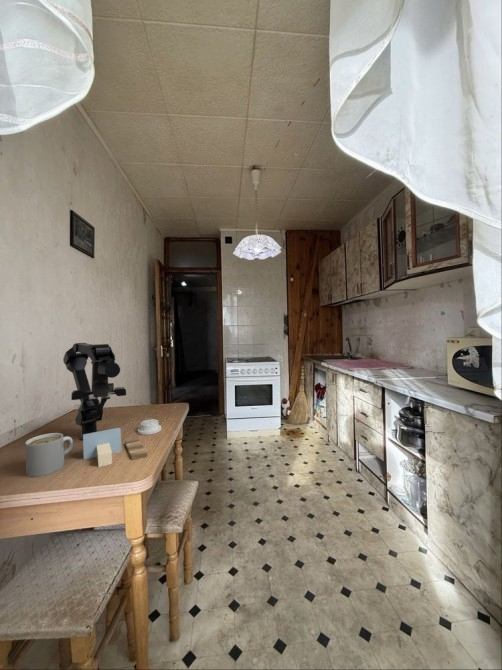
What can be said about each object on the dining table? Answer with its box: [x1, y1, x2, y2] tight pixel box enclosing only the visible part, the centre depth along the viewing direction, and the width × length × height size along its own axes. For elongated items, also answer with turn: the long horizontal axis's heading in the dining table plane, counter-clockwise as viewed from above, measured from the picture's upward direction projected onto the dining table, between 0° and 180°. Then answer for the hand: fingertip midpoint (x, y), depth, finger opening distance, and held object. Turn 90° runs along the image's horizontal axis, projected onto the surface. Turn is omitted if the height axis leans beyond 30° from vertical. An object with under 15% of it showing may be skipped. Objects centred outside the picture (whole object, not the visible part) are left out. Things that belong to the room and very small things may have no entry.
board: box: [124, 438, 148, 461], centre depth 101 cm, size 16×5×1 cm, turn 33°
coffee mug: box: [24, 432, 74, 478], centre depth 90 cm, size 13×10×10 cm
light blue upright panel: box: [82, 427, 122, 468], centre depth 95 cm, size 12×12×8 cm
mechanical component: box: [137, 418, 162, 436], centre depth 121 cm, size 10×4×10 cm
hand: (99, 414), depth 107 cm, fingers closed
